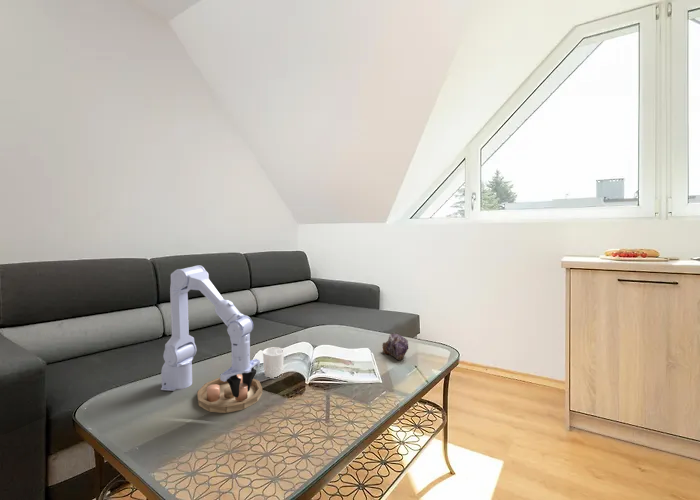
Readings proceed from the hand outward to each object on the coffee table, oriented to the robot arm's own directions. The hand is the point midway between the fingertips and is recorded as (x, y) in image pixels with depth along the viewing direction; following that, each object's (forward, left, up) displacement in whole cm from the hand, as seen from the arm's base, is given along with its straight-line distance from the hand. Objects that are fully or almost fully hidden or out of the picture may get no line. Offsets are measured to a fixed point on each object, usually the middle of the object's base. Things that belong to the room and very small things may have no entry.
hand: (241, 393), depth 124 cm
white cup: (+5, +20, -4) cm, 21 cm away
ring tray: (-5, +3, -3) cm, 6 cm away
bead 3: (0, 0, -2) cm, 2 cm away
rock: (+53, +46, -4) cm, 71 cm away
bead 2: (-5, +8, -3) cm, 10 cm away
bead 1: (-9, 0, -3) cm, 10 cm away
